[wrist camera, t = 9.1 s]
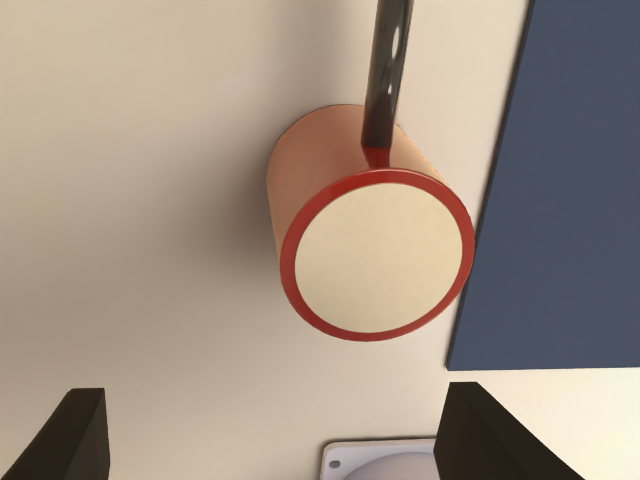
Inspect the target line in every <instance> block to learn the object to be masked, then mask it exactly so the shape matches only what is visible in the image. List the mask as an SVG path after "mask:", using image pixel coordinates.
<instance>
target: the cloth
mask: <svg viewBox="0 0 640 480" xmlns="http://www.w3.org/2000/svg"><path fill="white" fill-rule="evenodd" d="M627 367H640V0H532V1H531V5H530V9H529V13H528V18H527V22H526V26H525V31H524V35H523V39H522V43H521V48H520V52H519V56H518V60H517V65H516V69H515V73H514V78H513V82H512V86H511V90H510V95H509V99H508V103H507V108H506V112H505V116H504V120H503V125H502V129H501V133H500V137H499V142H498V146H497V150H496V155H495V159H494V163H493V167H492V172H491V176H490V180H489V185H488V189H487V193H486V197H485V202H484V206H483V210H482V214H481V219H480V223H479V227H478V232H477V236H476V240H475V247H474V257H473V263H472V266H471V269H470V273H469V275H468V277H467V279H466V283H465V287H464V291H463V296H462V300H461V304H460V309H459V313H458V317H457V321H456V326H455V330H454V334H453V339H452V343H451V347H450V351H449V356H448V360H447V364H446V368H447V370H448V371H472V370H524V369H575V368H627Z"/></svg>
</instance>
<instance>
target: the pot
mask: <svg viewBox="0 0 640 480" xmlns="http://www.w3.org/2000/svg"><path fill="white" fill-rule="evenodd" d="M413 5H414V0H378V4H377V12H376V20H375V28H374V36H373V44H372V52H371V59H370V67H369V75H368V83H367V91H366V99H365V107H364V106H359V105H351V104H347V105H334V106H328V107H325V108H321V109H318V110H316V111H313V112H311V113H309V114H307V115H306V116H304V117H302V118H301V119H299V120H298V121H297V122H295V123H294V124H293V125H292V126H291V127H290V128H289V129H288V130H287V131H286V132H285V133H284V134H283V135H282V137H281V138H280V139H279V140H278V142H277V144H276V146H275V147H274V149H273V151H272V154H271V156H270V159H269V163H268V166H267V174H266V188H267V194H268V201H269V207H270V213H271V220H272V226H273V233H274V239H275V245H276V252H277V258H278V265H279V271H280V277H281V283H282V286H283V289H284V292H285V294H286V296H287V298H288V300H289V302H290V304H291V305H292V307H293V308H294V309H295V311H296V312H297V313H298V314H299V315H300V316H301V317H302V318H303V319H304V320H305V321H306V322H308V323H309V324H310V325H312V326H313V327H315V328H316V329H318V330H320V331H321V332H323V333H326V334H328V335H331V336H333V337H337V338H340V339H344V340H350V341H362V342H370V341H381V340H387V339H392V338H395V337H399V336H402V335H405V334H407V333H410V332H412V331H414V330H416V329H418V328H420V327H422V326H424V325H425V324H427V323H428V322H430V321H431V320H433V319H434V318H436V317H437V316H438V315H439V314H440V313H442V312H443V311H444V310H445V309H446V308H447V307H448V306H449V305H450V304H451V303H452V301H453V300H454V299H455V298H456V296H457V295H458V294H459V292H460V290H461V289H462V287H463V285H464V284H465V282H466V279H467V277H468V275H469V273H470V269H471V266H472V263H473V257H474V247H475V238H474V231H473V226H472V223H471V219H470V216H469V214H468V212H467V210H466V208H465V206H464V205H463V203H462V202H461V200H460V199H459V198H458V196H457V195H456V194H455V193H454V192H453V190H452V189H451V188H450V187H449V186H448V184H447V183H446V182H445V181H444V180H443V178H442V177H441V176H440V175H439V174H438V172H437V171H436V170H435V169H434V168H433V166H432V165H431V164H430V163H429V162H428V161H427V159H426V158H425V157H424V156H423V155H422V153H421V152H420V151H419V150H418V149H417V147H416V146H415V145H414V144H413V143H412V141H411V140H410V139H409V138H408V137H407V135H406V134H405V133H404V132H403V131H402V129H401V128H400V127H399V126H398V125H397V124H396V117H397V110H398V104H399V97H400V91H401V84H402V78H403V71H404V64H405V58H406V51H407V45H408V38H409V31H410V25H411V18H412V12H413Z"/></svg>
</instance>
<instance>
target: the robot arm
mask: <svg viewBox="0 0 640 480" xmlns="http://www.w3.org/2000/svg"><path fill="white" fill-rule="evenodd" d="M334 460H337V461H334ZM331 461H334V462H331ZM109 469H110V451H109V439H108V426H107V414H106V401H105V389H104V388H74V389H71V390H70V391H69V392H67V393H66V395H65V396H64V398H63V399H62V401H61V402H60V404H59V405H58V406H57V408H56V409H55V411H54V412H53V413H52V415H51V416H50V418H49V419H48V420H47V422H46V423H45V424H44V426H43V427H42V428H41V430H40V431H39V432H38V434H37V435H36V436H35V438H34V439H33V440H32V442H31V443H30V444H29V445H28V447H27V448H26V449H25V450H24V452H23V453H22V454H21V455H20V456H19V458H18V459H17V460H16V461H15V463H14V464H13V465H12V466H11V468H10V469H9V470H8V471H7V472H6V474H5V475H4V476H3V477H2V478H1V480H108V476H109ZM320 480H585V479H584V478H582V477H581V476H580V475H579V474H578V473H576V472H575V471H574V470H573V469H571V468H570V467H569V466H568V465H567V464H566V463H564V462H563V461H562V460H561V459H560V458H559V457H557V456H556V455H555V454H554V453H553V452H552V451H551V450H549V449H548V448H547V447H546V446H545V445H544V444H543V443H542V442H541V441H540V440H538V439H537V438H536V437H535V436H534V435H533V434H532V433H531V432H530V431H529V430H528V429H526V428H525V427H524V426H523V425H522V424H521V423H520V422H519V421H518V420H517V419H516V418H515V417H514V416H513V415H512V414H511V413H509V412H508V411H507V410H506V409H505V408H504V407H503V406H502V405H501V404H500V403H499V402H498V401H497V400H496V399H495V398H494V397H493V396H492V395H491V394H489V393H488V392H487V391H486V390H485V389H484V388H483V387H482V386H481V385H480V384H478V383H477V382H450V384H449V388H448V392H447V396H446V400H445V404H444V408H443V412H442V416H441V420H440V424H439V428H438V432H437V436H436V439H412V440H386V441H359V442H335V443H331V444H329V445H327V446H326V447H325V449H324V452H323V460H322V468H321V476H320Z"/></svg>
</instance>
